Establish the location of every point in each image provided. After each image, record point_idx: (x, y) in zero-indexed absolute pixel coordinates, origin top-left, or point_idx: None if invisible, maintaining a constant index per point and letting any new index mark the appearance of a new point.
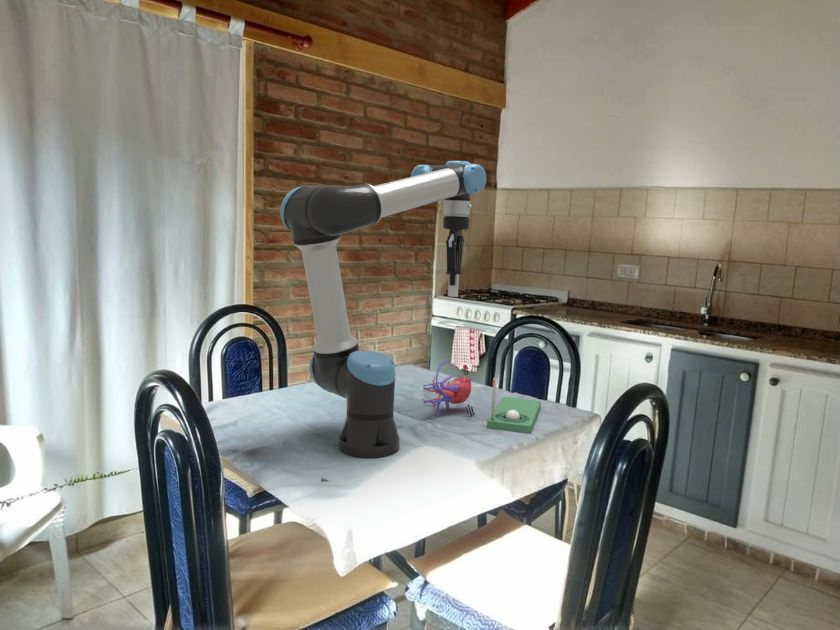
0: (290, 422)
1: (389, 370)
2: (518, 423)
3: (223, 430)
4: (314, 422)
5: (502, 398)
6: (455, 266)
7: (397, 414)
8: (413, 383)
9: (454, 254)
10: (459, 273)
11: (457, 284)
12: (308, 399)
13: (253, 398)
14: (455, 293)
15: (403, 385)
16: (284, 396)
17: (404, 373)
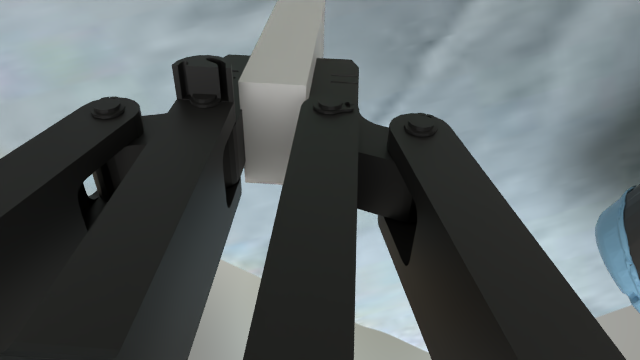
0: (559, 234)
1: None
2: None
3: (619, 306)
4: (553, 196)
5: None
6: (448, 167)
7: (452, 42)
8: (129, 78)
9: (618, 355)
10: (232, 80)
11: (303, 38)
12: (388, 252)
13: (414, 327)
14: (322, 21)
15: (167, 98)
16: (382, 292)
17: (44, 127)
